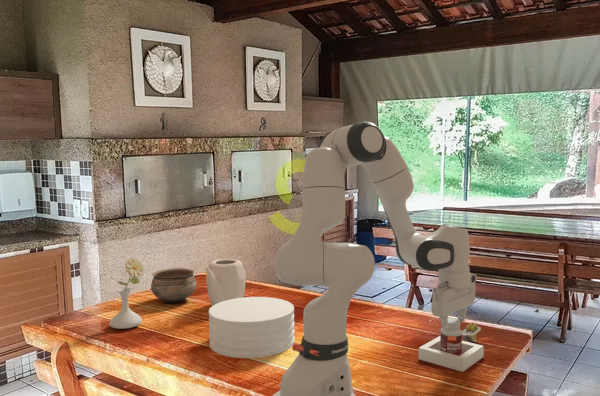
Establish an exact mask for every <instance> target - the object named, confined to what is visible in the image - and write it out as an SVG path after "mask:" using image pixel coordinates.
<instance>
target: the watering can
mask: <svg viewBox="0 0 600 396" xmlns="http://www.w3.org/2000/svg"><path fill="white" fill-rule="evenodd" d="M204 270H205V272H206V277H205V281H206V282H205V283H206V288H207V289H206V290H207V293H208V294H207V295H208V299H209V301H210V305H211V307H212V306H213V305H215V304H217V303H220V302H222V301H226V300H230V299H236V298H244V296H245V293H246V292H245V291H246V281H247V278H246V272H245V268H244V265H243V262H242V261H241V260H239V259H237V258H236V259H235V258H219V259H214V260H212V261H211V262H210V263H208V267H206V268H205V269H204Z"/></svg>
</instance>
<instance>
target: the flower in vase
mask: <svg viewBox="0 0 600 396" xmlns="http://www.w3.org/2000/svg"><path fill="white" fill-rule="evenodd" d="M144 271H145V268H144V265H143V264H142V262H141V261H140V260H139V259H138V258H136V257H133V258H132V257H130V258H129V259H128V261H127V260H126V262H125V273H127V274H128V275H129V279H128V281H127V283H126V282H122V281H120V280H118V284H119V285H120V286H121V285H122V286H125V287H121V288H118V289H117V292H118V293H119V295H120V299H121V308H120V310H119V312H118V313H116V314H115V315H114V316H113V317H112V318H111V319H110V321H109V323H108V324H109V326H110V327H111V328H114V329H118V330H119V329H120V330H121V329H122V330H123V329H131V328H134V327H137V326H139V325H140V324H141V323H142V322H143V318H142V317H141V316H140V315H139V314H137V313H136V312H134V311H133V310H131V308H130V306H129V297H130V293H131V291H132V288H131V287H128V284H129V283H131V284H133V285H136V284H139V283H140V282H141V281H140V278H141V276H143V274H145V272H144Z"/></svg>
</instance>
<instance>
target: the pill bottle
mask: <svg viewBox="0 0 600 396" xmlns="http://www.w3.org/2000/svg"><path fill="white" fill-rule="evenodd" d="M447 319H448V323H450V328H449V329H447V330H445V329H442V327H441V329H440V336H441V337H440V351H443V352H447V353H450V354H454V355H458V356H460V355H462V341H463V339H462V338H463V335H462V331H463V330H462V329H461V322H460V320H458V318H457V317H456V318H455V317H448V318H447Z"/></svg>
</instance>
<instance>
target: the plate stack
mask: <svg viewBox="0 0 600 396" xmlns="http://www.w3.org/2000/svg"><path fill="white" fill-rule="evenodd" d="M208 316H209V317H208V324H209V325H208V329H209V333H208V335H209V347H210V349H211V350H212V351H213V352H215V353H216V354H219V355H221V356H225V357H230V358H239V359H254V358H255V359H256V358H264V357H271V356H274V355H278V354H282V353H284V352H286V351H287V350H289V349H290V348H292V347H293V346H292V345H293V343H295V340H296V339H295V306H294V305H293V304H292V302H289V301H287V300H285V299H281V298H276V297H270V296H269V297H268V296H246V297H244V298H236V299H230V300H226V301H222V302H220V303H217V304H215V305H213V306H212V305H211V306H210V308H209V309H208Z"/></svg>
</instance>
